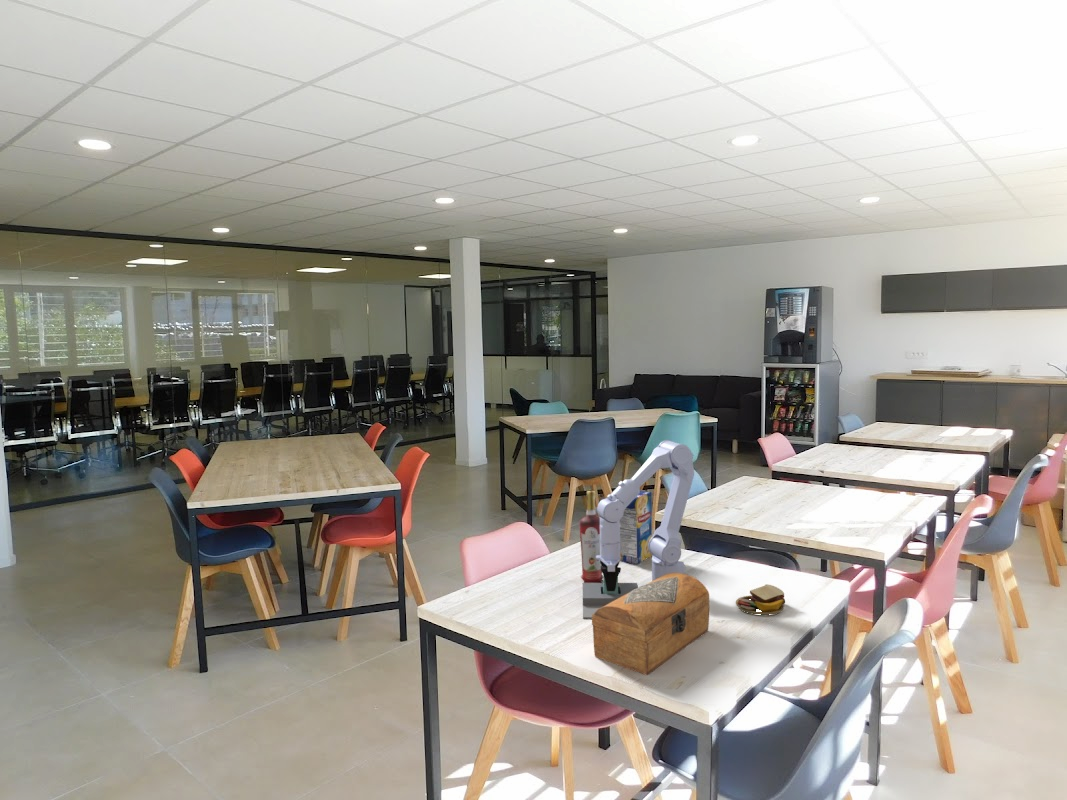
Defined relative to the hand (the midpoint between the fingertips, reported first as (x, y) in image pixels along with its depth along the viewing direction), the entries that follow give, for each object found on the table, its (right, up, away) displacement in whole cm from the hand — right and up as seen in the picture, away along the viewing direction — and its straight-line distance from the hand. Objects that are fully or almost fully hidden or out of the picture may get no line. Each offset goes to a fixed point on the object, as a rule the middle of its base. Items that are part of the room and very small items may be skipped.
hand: (610, 587), depth 196 cm
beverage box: (+12, 0, +35) cm, 38 cm away
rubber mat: (-5, -4, -9) cm, 11 cm away
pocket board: (0, -3, 0) cm, 3 cm away
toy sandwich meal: (+40, -4, -8) cm, 41 cm away
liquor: (-4, -2, +15) cm, 15 cm away
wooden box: (+8, -6, -29) cm, 30 cm away
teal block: (0, -3, 0) cm, 3 cm away
